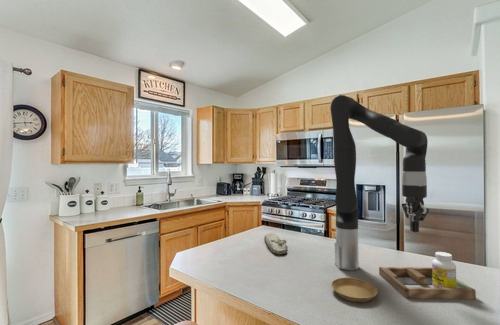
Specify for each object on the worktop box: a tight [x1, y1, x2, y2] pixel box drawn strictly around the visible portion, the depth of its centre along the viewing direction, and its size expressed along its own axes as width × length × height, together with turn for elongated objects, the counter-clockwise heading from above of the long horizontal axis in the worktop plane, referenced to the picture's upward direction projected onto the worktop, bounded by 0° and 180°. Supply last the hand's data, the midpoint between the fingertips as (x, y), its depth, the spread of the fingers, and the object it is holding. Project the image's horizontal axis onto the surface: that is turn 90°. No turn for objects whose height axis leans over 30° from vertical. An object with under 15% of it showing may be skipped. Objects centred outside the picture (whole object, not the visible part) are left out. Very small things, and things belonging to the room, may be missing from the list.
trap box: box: [378, 266, 477, 300], centre depth 92 cm, size 22×18×3 cm
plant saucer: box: [330, 277, 378, 303], centre depth 86 cm, size 15×15×3 cm
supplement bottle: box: [431, 251, 457, 288], centre depth 88 cm, size 7×7×13 cm
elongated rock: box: [263, 232, 289, 255], centre depth 141 cm, size 35×5×10 cm
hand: (414, 231), depth 91 cm, fingers closed
